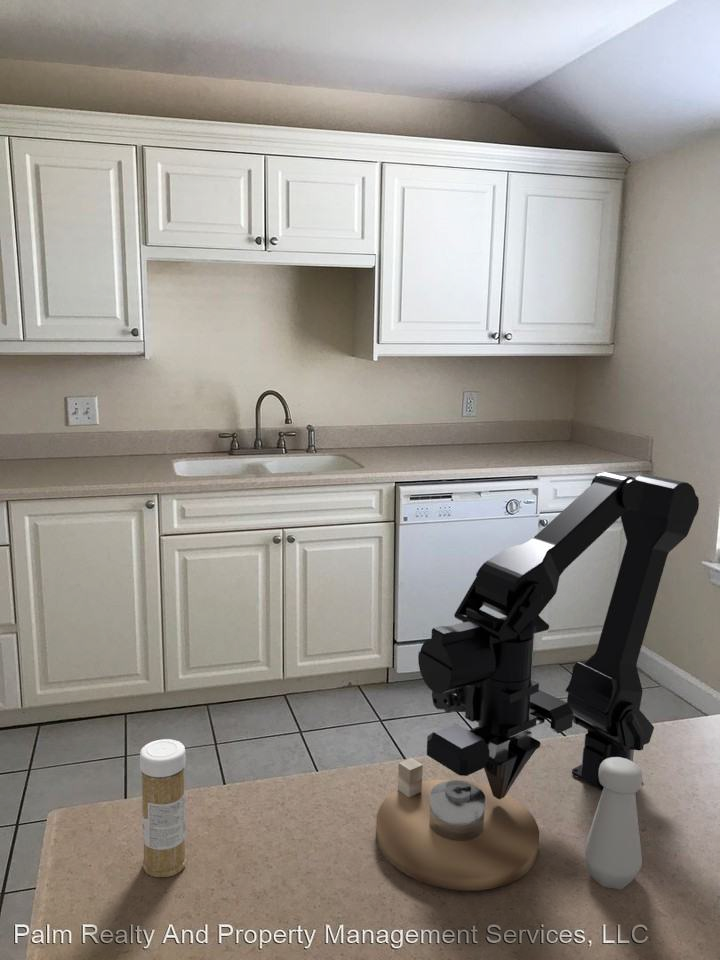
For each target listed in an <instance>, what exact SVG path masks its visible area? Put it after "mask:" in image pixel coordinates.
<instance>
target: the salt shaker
mask: <svg viewBox="0 0 720 960" xmlns="http://www.w3.org/2000/svg"><path fill="white" fill-rule="evenodd" d="M599 781H600V784H601V785H602V786H603V787H604V788H603V791H602V790H601V791H602V792H601V795H600V799H599V801H598V805H597V807H596V810H595V813H594V816H593V820H592V823H591V827H590V829H589V832H588V836H587V839H586V842H585V845H584V858H585V859H584V860H585V862H586V865H587V868H588V871H589V874H590V877H591V878H592V879H594V881H596V882H597V883H599V885H601V886H602V887H603V888H609V889H616V890H621V891H622V890H624V888H626V887H628V885H629V884H631V883H632V882H633V881H634V879H635V877H636V876H637V875H638V873H639V872H640V871H641V869H642V865H643V858H642V848H641V838H640V829H639V828H640V827H639V817H638V808H637V798H636V794H637V793H638V792H639V790H640V789H641V788H642V784H643V781H644V779H643V771H642V769H641V768H640V767H639V766H638V765H637V763H635V762H634V761H633V762H632V761H630V760H628V759H625V758H621V757H611V758H607V759H605V760H604V761H603V762H602V763H601V764H600V767H599Z"/></svg>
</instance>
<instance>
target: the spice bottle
mask: <svg viewBox="0 0 720 960" xmlns="http://www.w3.org/2000/svg"><path fill="white" fill-rule="evenodd" d="M140 749H141V750H140V752H139V768H140V771H141V781H142V783H141V786H142V787H141V791H142V793H141V796H142V797H141V798H142V801H141V802H142V803H141V804H142V805H141V811H142V812H141V813H142V814H141V818H142V820H141V821H142V824H141V825H142V842H143V861H142V866H143V867H142V868H143V870H144V872H146V874H147V875H149V876H152V877H154V878H155V877H156V878H168V877H169V878H170V877H172V876H174V875H176V874H178V873H180V872H181V871H182V870H183V869H184V868H185V866H186V864H187V856H186V826H187V825H186V789H185V767H186V762H187V761H186V759H187V757H186V747H185V745H184V744H183V743H182V742H181V741H179V740H175V739H171V738H166V739H165V738H164V739H158V740H154V741H153V740H152V741H151V742H148V743H147V744H145V745H144V746H142V748H140Z"/></svg>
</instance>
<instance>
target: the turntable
mask: <svg viewBox="0 0 720 960" xmlns="http://www.w3.org/2000/svg"><path fill="white" fill-rule="evenodd" d="M423 766H424V765H423V764H422V763H421V762H419V761H418V760H416V759H414V758H413V757H409V758H407V759H405V760H403V761H400V762H398V776H397V778H398V779H397V790H395V791H394V792H392V793H391V794H390V795H388V797H387V798H385V799H384V801H383V802H382V803H381V805H380V806H379V808H378V810H377V814H376V821H375V823H376V824H375V825H376V826H375V828H376V829H375V837H376V842H377V845H378V847H379V849H380V851H381V853H382V854H383V855H384V857H385V858H386V859H387V860H388V862H390V864H392V865H393V866H394V867H395V868H397V869H398V870H399V871H401V872H402V873H403V874H405V875H407V876H409V877H411V878H413V879H415V880H417V881H419V882H421V883H425V884H428V885H431V886H433V887H439V888H443V889H448V890H454V891H483V890H490V889H491V890H492V889H495V888H496V889H497V888H501V887H503V886H506V885H509V884H511V883H513V882H515V881H518V880H519V879H521V878H522V877H524V876H525V875H526V874H527V873H528V872H529V871H530V870H531V869H532V867H533V866H534V865H535V863H536V861H537V859H538V855H539V850H540V849H539V848H540V829H539V826H538V823H537V820H536V818H535V817H534V816H533V814H532V812H531V811H530V810H528V808H526V807H525V806H524V805H523V804H522V803H521V802H520V801H518V800H517V799H516V798H514V797H513V796H511V795H509V794H508V793H507V794H506V795H505V797H504V798H502V799H497V798H496V797H494V796H493V794H492V791H491V788H490V785H489V786H488V785H486V784H482V783H479V782H474V781H469V780H468V781H467V780H461V779H448V778H447V779H446V778H445V779H430V780H423V770H424V768H423ZM455 780H457V781H463V782H467V783H470V784H472V785H475V786H476V787H478V788H479V789H480V790H482V792H483V793H484V795H485V812H484V828H483V831H482V833H481V834H480V835H479V836H478V837H476V838H474V839H471V840H466V841H455V840H450V839H446V838H444V837H441V836H439V835H438V834H436V833H435V832H434V831H433V830H432V829H431V827H430V824H429V819H430V798H431V790H432V789H433V787H434V786H436V785H437V784H439V783H442V782H446V781H455Z"/></svg>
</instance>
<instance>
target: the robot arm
mask: <svg viewBox="0 0 720 960" xmlns="http://www.w3.org/2000/svg"><path fill="white" fill-rule="evenodd" d="M699 501H700V500H699V497H698V496H697V495H696V490H695V489H694V486H693V485H692V484H690V483H688V482H686V481H682V480H681V481H680V480H678V479H672V478H667V477H663V476H658V475H653V474H647V473H642V474H639V475H638V476H636V477H633V476H629V475H625V474H620V473H616V472H611V471H604V472H600V473H597V474H596V475H595V476H594V477H593V478H592V481H591V483H590V486H588V487H587V488H586V489H585V490H584V491H583V492H582V493H581V494H580V495H578V496H577V497H576V498H575V499H574V500H573V501H572V502H571V503H570V504H569V505H568V506H566V507H565V508H564V509H563V510H562V511H561V512H560V513H559V514H558V515H556V516H555V517H554V519H552V520H550V522H549V523H547V524H546V526H544V527H543V528H542V529H541V530H540V531H539V532H538V533H537V534H536V535H534V537H532V538H531V539H529V540H528V541H526V542H524V543H520V544H517V545H513V546H510V547H507V548H505V549H503V550H502V551H500V552H498V553H496V554H495V555H493V556H492V557H491V558H489V559H487V560H486V561H485V562H483V564H482V565H481V566H479V568H478V570H477V571H476V573H475V577H474V578H475V579H474V581H472V583H471V585H470V587H469V589H468V591H467V592H466V594H465V595H464V597H463V599H462V601H461V602H460V604H459V606H458V608H457V610H456V611H455V612H454V614H453V616H454V618H455V619H456V620H459V621H461V623H456V624H453V625H449V626H448V625H447V626H446V625H445V626H444V625H442V626H436V627H433V628H432V629H431V636H430V637H431V638H428V639H426V640H425V641H424V642H423V643H422V645H421V647H420V651H418V655H417V656H418V657H417V658H418V659H417V660H418V661H417V662H418V668H419V672H420V674H421V677H422V679H423V682H424V683H425V685H426V686H427V688H428V689H430V691H431V698H432V703H433V706H434V707H435V708H436V710H443V711H444V712H445V713H449V714H450V713H452V712H459V713H460V712H461V713H464V714H465V715H464V718H465V719H466V720H468V721H470V722H477V723H478V726H476V727H474V728H471V729H469V730H468V729H467V728H465V727H463V726H461V725H459V724H458V723H456V722H455V723H452V724H450V725H447V726H445V727H442V728H439V729H438V730H435V731H433V732H432V733H429V734H428V735H427V739H426V755H427V757H429V758H431V759H432V760H434V761H436V763H439V764H441V766H444V767H445V768H446V769H448V770H450V771H451V772H453V773H455V774H456V775H458V776H460V777H461V776H464V777H465V776H466V777H468V776H470V775H472V774H474V773H476V772H479V771H481V770H484V773H485V775H486V777H487V782H488V785H489V787H490V788H491V791H492V794H493V796H494V797H496V798H497V799H502V798H504V797H505V795H506V794H507V795H508V792H509V791H510V789H511V788H512V786H513V785H514V783H515V781H516V779H518V776H519V775H520V773H521V772H522V770H523V769H524V767H525V766H526V764H528V761H529V760H530V759H531V757H532V756H533V755H534V753H535V752H536V751H537V750H538V749H539V748H540V747H541V741H540V740H537V739H536V738H534V737H532V731H531V729H532V728H535V727H538V726H539V725H542V724H545V720H546V719H548V720H550V728H551V730H552V731H553V732H555V733H557V734H560V733H563V732H564V731H567V730H569V729H571V728H573V724H575V725H578V726H580V727H582V728H584V729H586V730H587V731H586V732H587V733H585V735H584V746H583V749H582V758H581V759H582V760H581V764H580V765H578V766H575V767H574V768H572V769H571V774H572V775H573V776H575V777H577V778H578V779H580V780H582V781H584V782H586V783H588V784H590V785H592V786H594V787H595V788H597V789H599V790H600V791H603V788H604V787H603V786H602V785H601V784H600V781H599V767H600V764H601V763H602V762H603V761H604V760H605V759H607V758H611V757H621V758H625V759H628V760H630V761H632V762H634V752H635V751H638V752H639V751H643V750H644V745H648V744H649V743H650V742H651V738H652V736H653V732H654V729H655V726H654V725H653V724H652V722H651V721H650V720H649V719H648V718H647V716H646V715H645V714H644V713H643V712H642V711H641V703H642V696H643V686H642V682H641V678H640V675H639V672H638V667H637V664H638V659H639V656H640V653H641V649H642V645H643V642H644V640H645V635H646V631H647V628H648V624H649V621H650V617H651V616H652V615H651V613H652V610H653V607H654V604H655V600H656V596H657V594H658V590H659V585H660V583H661V579H662V576H663V573H664V572H663V571H664V568H665V566H666V565H665V564H666V561H667V558H668V555H669V553H670V552H671V551H672V550H674V548H676V547H677V546H678V545H679V544H680V543H682V541H683V540H684V539H686V537H687V536H688V535H689V532H690V530H691V527H692V525H693V523H694V521H695V518H696V516H697V514H698V511H699V509H700V508H699V506H700V502H699ZM618 519H620V520H621V521H620V522H621V524H622V528H623V529H622V530H623V532H624V536H625V540H626V544H625V547H624V551H623V555H622V559H621V562H620V565H619V569H618V573H617V576H616V578H615V583H614V588H613V591H612V594H611V597H610V602H609V605H608V608H607V612H606V614H605V615H606V616H605V619H604V622H603V625H602V629H601V631H600V632H601V633H600V635H599V639H598V644H597V647H596V650H595V652H594V653H593V654H592V655H590V657H588V659H587V660H585V661H584V662H579V661H577V662H576V663H575V664H573V666H572V671H571V678H570V681H569V683H568V684H567V687H566V689H565V692H566V693H567V696H566V697H567V698H566V701H565V700H563V699H560V698H559V697H556V696H554V695H551V694H549V693H547V692H545V691H543V690H541V689H539V688H540V687H539V686H540V683H539V682H538V681H535V680H533V679H532V673H533V658H534V657H533V656H534V645H535V644H534V643H535V641H534V640H535V634H537V633H541V632H545V631H548V630H549V629H550V624H549V623H548V622H546V621H545V620H544V619H543V618H542V617H541V616H540V614H541V613H542V611H543V610H544V609H545V608H546V606H547V605H548V604H549V603H550V602H551V600H552V599H553V598H554V596H555V595H556V594H557V591H558V586H559V582H560V576H561V575H562V574H563V573H564V571H565V570H566V569H567V568H569V566H570V565H572V563H573V562H574V561H576V559H578V558H579V557H580V556H581V555H582V554H583V553H584V552H585V551H586V550H587V549H588V548H589V547H590V546H592V544H594V543H595V542H596V541H597V540H598V539H599V538H600V537H601V536H602V535H603V534H604V533H605V532H606V531H607V530H608V529H609V528H610V527H612V526H613V524H615V522H617V521H618ZM483 606H484V607H486V608H488V609H490V610H493V611H495V612H497V613H499V614H501V615H503V617H496V616H494V615H493V614H490V613H488V612H486V611H484V610H482V609H481V608H483Z"/></svg>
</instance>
